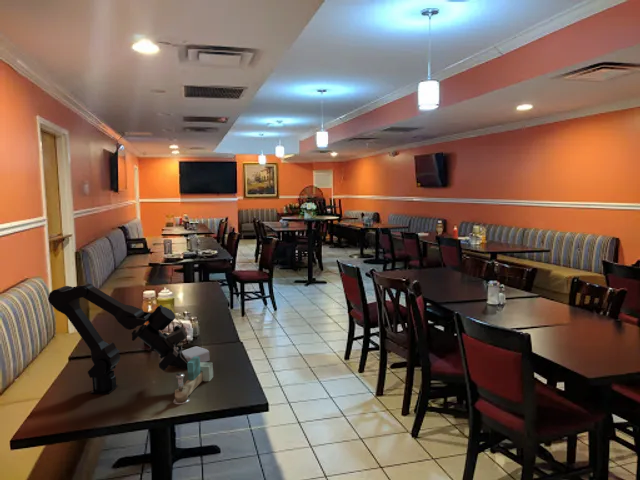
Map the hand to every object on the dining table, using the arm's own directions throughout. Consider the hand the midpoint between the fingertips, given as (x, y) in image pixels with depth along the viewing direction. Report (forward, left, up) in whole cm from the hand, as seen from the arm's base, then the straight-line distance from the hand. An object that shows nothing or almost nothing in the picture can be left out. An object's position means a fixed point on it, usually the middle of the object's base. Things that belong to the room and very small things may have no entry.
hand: (189, 367), depth 161 cm
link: (+1, -2, -6) cm, 7 cm away
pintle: (+1, -11, -7) cm, 13 cm away
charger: (-9, +19, -7) cm, 22 cm away
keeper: (+2, +6, -7) cm, 9 cm away
